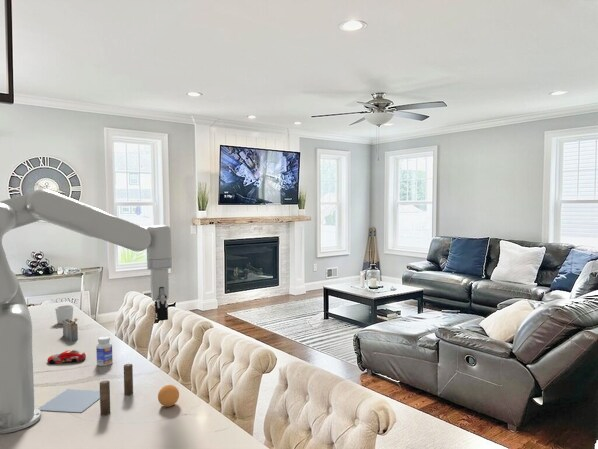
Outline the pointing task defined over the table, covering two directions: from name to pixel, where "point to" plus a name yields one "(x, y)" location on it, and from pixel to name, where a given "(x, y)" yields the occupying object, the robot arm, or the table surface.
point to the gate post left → (104, 398)
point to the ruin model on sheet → (70, 329)
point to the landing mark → (72, 401)
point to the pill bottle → (104, 351)
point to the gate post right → (128, 379)
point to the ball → (168, 395)
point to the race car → (67, 357)
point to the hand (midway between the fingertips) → (161, 316)
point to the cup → (64, 313)
